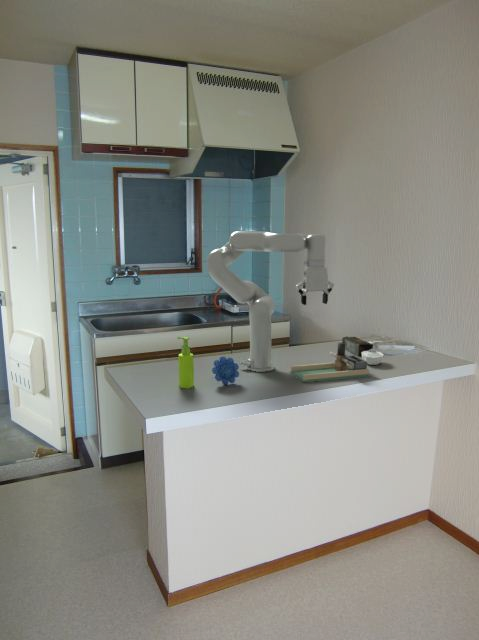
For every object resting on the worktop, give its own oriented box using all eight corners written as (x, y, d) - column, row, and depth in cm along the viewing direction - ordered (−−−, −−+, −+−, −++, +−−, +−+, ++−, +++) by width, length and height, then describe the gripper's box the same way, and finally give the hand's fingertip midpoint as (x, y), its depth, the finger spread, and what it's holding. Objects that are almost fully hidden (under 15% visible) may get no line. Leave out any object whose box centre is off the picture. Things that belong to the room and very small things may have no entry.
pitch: (303, 382, 208) (303, 375, 208) (290, 373, 222) (290, 366, 221) (368, 376, 217) (368, 369, 216) (352, 367, 230) (352, 360, 230)
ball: (350, 373, 220) (346, 366, 219) (346, 370, 224) (342, 363, 223) (357, 367, 221) (353, 360, 219) (353, 365, 224) (349, 358, 223)
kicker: (348, 377, 211) (349, 349, 209) (327, 364, 229) (327, 338, 227) (355, 376, 212) (356, 348, 210) (333, 364, 230) (334, 338, 228)
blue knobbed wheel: (215, 389, 200) (215, 360, 198) (210, 384, 206) (209, 355, 204) (243, 386, 204) (243, 357, 202) (237, 381, 211) (237, 353, 208)
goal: (355, 374, 217) (355, 360, 216) (342, 367, 227) (343, 354, 226) (366, 372, 218) (367, 359, 217) (353, 366, 229) (354, 353, 227)
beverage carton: (355, 347, 269) (355, 335, 268) (373, 356, 251) (373, 343, 249) (341, 348, 267) (341, 335, 266) (358, 357, 249) (359, 344, 248)
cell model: (359, 366, 232) (360, 352, 231) (362, 359, 244) (362, 346, 242) (382, 368, 229) (383, 354, 228) (384, 361, 240) (384, 347, 239)
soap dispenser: (184, 382, 209) (183, 334, 205) (196, 385, 205) (196, 337, 201) (174, 385, 205) (173, 337, 201) (186, 389, 200) (185, 339, 196)
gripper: (300, 265, 209) (299, 306, 212) (338, 264, 213) (336, 304, 217) (293, 263, 216) (292, 303, 219) (330, 262, 221) (328, 301, 224)
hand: (314, 303), depth 218 cm, fingers open, 9 cm apart
